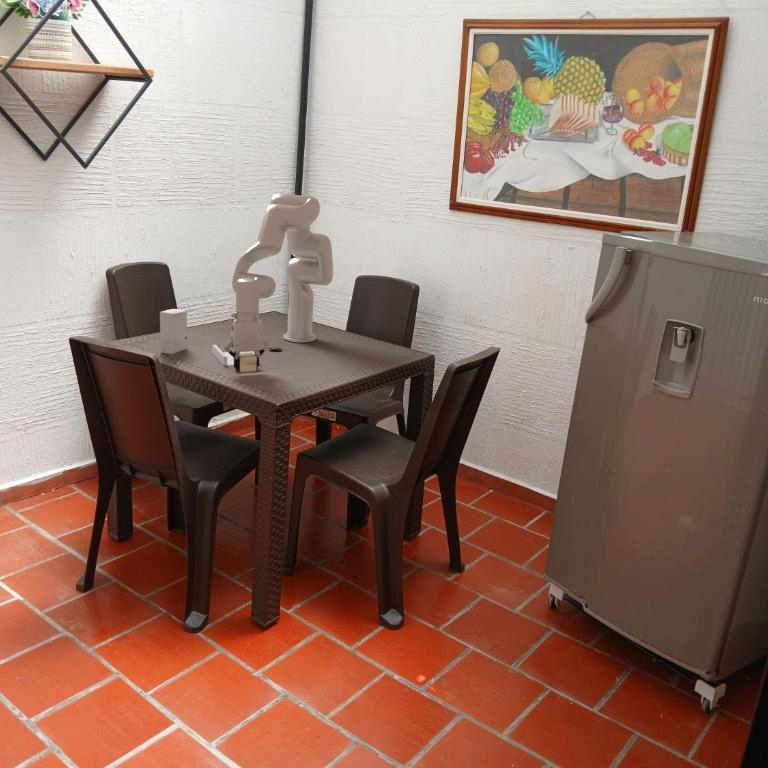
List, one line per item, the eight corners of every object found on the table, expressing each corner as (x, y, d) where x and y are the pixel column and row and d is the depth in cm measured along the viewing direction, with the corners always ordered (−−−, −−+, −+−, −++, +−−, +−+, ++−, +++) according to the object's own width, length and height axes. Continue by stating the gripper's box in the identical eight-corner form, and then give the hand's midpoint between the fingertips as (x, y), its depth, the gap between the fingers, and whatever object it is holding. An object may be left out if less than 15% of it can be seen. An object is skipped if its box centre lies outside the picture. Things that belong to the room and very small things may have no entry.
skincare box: (173, 355, 281) (173, 314, 276) (159, 352, 283) (158, 311, 278) (188, 350, 288) (188, 309, 284) (174, 347, 290) (173, 307, 286)
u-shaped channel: (212, 355, 285) (212, 344, 284) (245, 353, 290) (245, 343, 289) (223, 367, 272) (223, 356, 271) (257, 365, 277) (258, 354, 276)
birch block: (235, 368, 271) (235, 352, 269) (250, 367, 274) (251, 351, 272) (240, 373, 267) (240, 357, 265) (256, 372, 269) (256, 356, 267)
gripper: (224, 320, 257) (224, 374, 263) (275, 318, 264) (274, 370, 270) (218, 314, 263) (218, 367, 269) (268, 312, 271) (267, 363, 276)
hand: (246, 368), depth 269 cm, fingers closed on birch block, 5 cm apart
